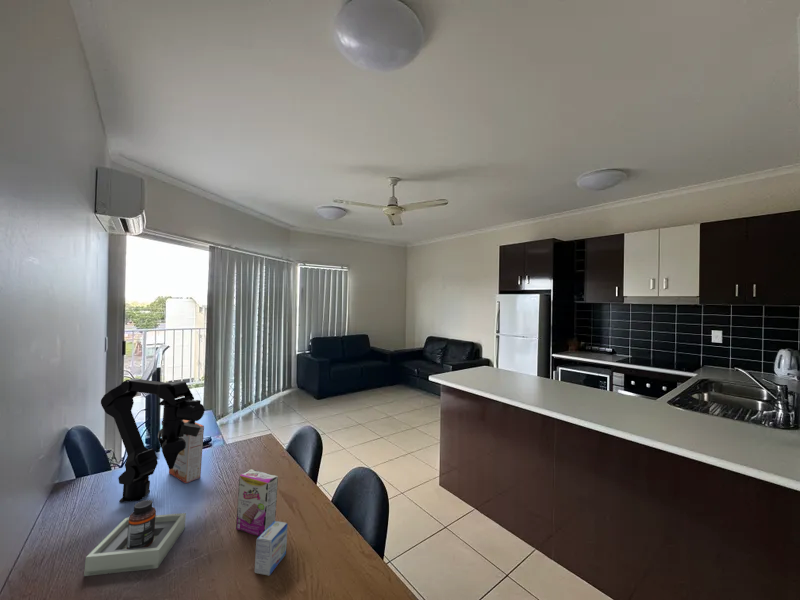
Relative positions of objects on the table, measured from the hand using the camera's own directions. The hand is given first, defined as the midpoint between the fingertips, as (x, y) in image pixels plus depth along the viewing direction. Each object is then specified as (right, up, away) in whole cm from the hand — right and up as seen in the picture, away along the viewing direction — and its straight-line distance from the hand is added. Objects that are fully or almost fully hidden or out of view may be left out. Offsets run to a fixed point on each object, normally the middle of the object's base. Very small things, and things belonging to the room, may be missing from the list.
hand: (169, 463), depth 112 cm
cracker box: (-7, -14, +17) cm, 23 cm away
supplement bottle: (+8, -11, -23) cm, 27 cm away
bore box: (+8, -12, -23) cm, 27 cm away
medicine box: (+46, -14, -26) cm, 55 cm away
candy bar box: (+36, -14, -13) cm, 41 cm away
